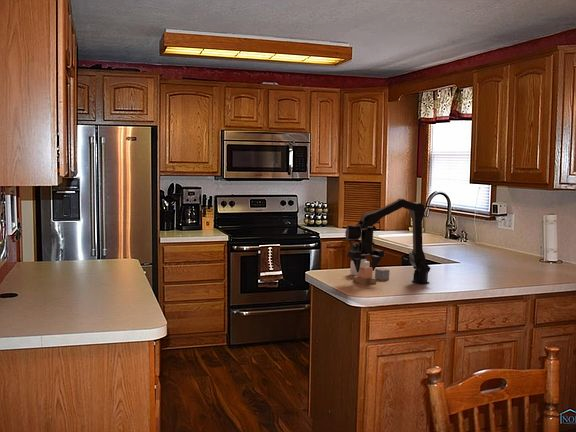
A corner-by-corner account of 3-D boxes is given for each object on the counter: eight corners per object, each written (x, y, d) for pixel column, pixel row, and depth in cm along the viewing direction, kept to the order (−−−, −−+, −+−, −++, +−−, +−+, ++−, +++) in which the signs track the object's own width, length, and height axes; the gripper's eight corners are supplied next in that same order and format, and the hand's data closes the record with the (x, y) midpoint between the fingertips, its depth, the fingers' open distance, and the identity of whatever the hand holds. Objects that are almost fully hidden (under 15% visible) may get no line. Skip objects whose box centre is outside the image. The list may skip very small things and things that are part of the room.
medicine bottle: (369, 275, 314) (370, 252, 313) (361, 276, 309) (362, 253, 308) (358, 272, 319) (359, 250, 318) (349, 274, 314) (351, 251, 313)
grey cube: (382, 277, 310) (383, 268, 309) (388, 279, 306) (389, 269, 305) (374, 278, 307) (375, 268, 307) (381, 280, 303) (381, 270, 302)
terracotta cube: (365, 276, 299) (366, 266, 299) (371, 278, 295) (372, 267, 295) (357, 276, 297) (358, 266, 296) (363, 278, 292) (364, 268, 292)
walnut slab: (366, 281, 301) (366, 275, 301) (376, 284, 294) (376, 278, 294) (353, 282, 297) (353, 276, 297) (362, 285, 291) (363, 279, 290)
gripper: (371, 236, 305) (370, 267, 307) (341, 238, 296) (339, 269, 298) (386, 239, 296) (384, 271, 297) (355, 241, 286) (353, 274, 288)
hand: (365, 271), depth 295 cm, fingers open, 9 cm apart
